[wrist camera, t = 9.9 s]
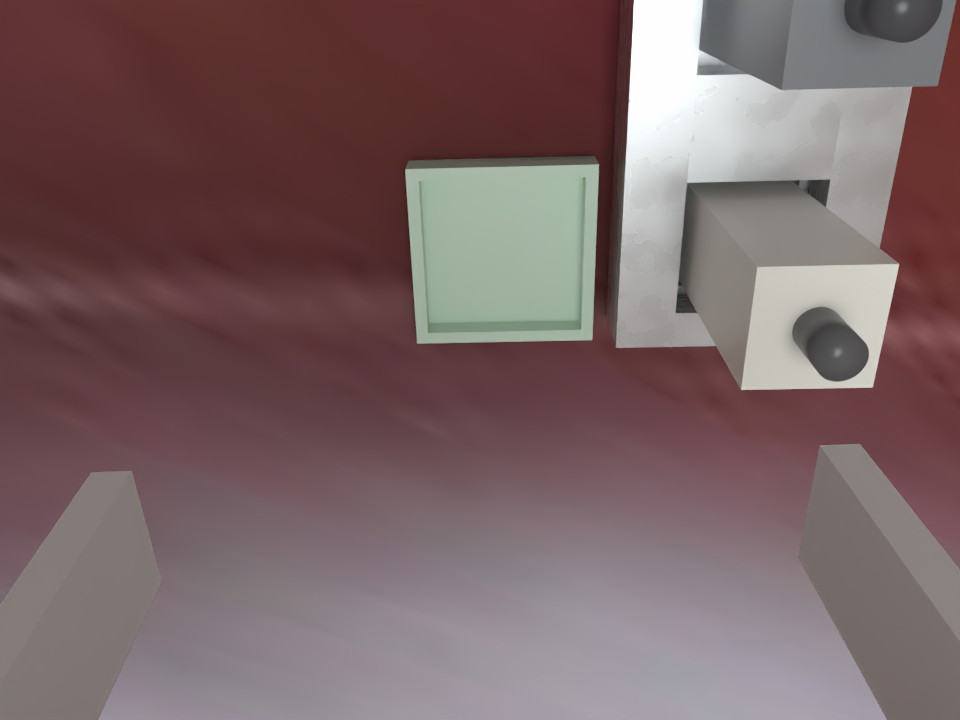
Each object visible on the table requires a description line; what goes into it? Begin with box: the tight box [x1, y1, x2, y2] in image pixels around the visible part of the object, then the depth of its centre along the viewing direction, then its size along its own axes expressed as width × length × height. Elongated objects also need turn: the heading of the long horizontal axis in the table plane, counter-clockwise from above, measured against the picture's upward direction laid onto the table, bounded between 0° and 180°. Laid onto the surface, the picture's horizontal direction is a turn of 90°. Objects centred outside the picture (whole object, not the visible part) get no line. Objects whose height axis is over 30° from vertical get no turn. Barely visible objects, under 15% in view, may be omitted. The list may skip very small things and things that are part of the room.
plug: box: [679, 180, 899, 390], centre depth 34 cm, size 5×5×14 cm
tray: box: [405, 156, 599, 344], centre depth 41 cm, size 9×9×2 cm
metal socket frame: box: [606, 0, 912, 348], centre depth 37 cm, size 12×21×4 cm, turn 2°
